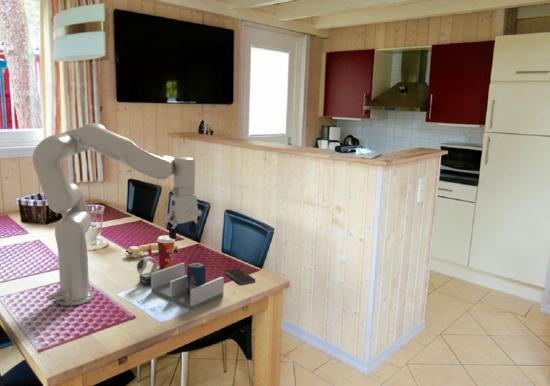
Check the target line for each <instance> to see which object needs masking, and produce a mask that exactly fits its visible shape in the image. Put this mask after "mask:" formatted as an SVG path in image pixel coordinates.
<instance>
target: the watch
mask: <svg viewBox="0 0 550 386" xmlns="http://www.w3.org/2000/svg"><path fill="white" fill-rule="evenodd" d="M151 259H152V260H153V265H152V267H151V269H150V272H147V273H144V274H143V271H145V269H146V268H147V265H148V262H149V260H151ZM138 260H139V261H138V262H137V264H136V270H137V272H138V275H139V283H140V284H141V285H143V286H144V287H145V288H147V287H150V286H151V273H154V272H157V268H158V261H157V260H156V259H155V258H154V257H152V256H149V255H148V256H144V257H143V258H140V259H138Z"/></svg>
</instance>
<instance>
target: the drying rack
mask: <svg viewBox="0 0 550 386" xmlns="http://www.w3.org/2000/svg"><path fill="white" fill-rule="evenodd" d="M185 264H186V263H185V262H180V263H178V264H175V265H174V264H173V266H171V267H169V268H166V269H163V270H162V269H159V270H158V271H157V270H156V271H155V272H154V273H151V287H150V288H151V289H150V290H151V293H153V294H156V295H158V296H160V297H162V298H164V299H166V300H168V301H171V302H173V303H176V304H177V305H180V306H182V307H184V308H187V309H189V310H192V311H193V310H195V309H198V308H199V307H202V306H204V305H206V304H208V303H211V302H213V301H215V300H217V299H219V298H221V297H223V296H224V286H225V285H224V284H225V283H224V276H220V277H218V278H215V279H212V280H210V281H207V282H206V283H205V284H203V285H200V286H198V287H195V288H193V289H191V290H190V296H189V295H188V293H187V274H185V273H186V271H185V270H186V269H185V266H186V265H185Z"/></svg>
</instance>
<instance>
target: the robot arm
mask: <svg viewBox="0 0 550 386" xmlns="http://www.w3.org/2000/svg"><path fill="white" fill-rule="evenodd" d="M88 150H91V151H93V152H94V153H95V152H96V153H98V154H100V155H103V156H105V157H107V158H109V159H113V160H116V161H117V162H120V163H122V164H124V165H125V166H127V167H129V168H131V169H133V170H135V171H137V172H139V173H141V174H143V175H146V176H148V177H151V178H153V179H156V180H166V179H168V178H170V176H173V188H172V189H171V200H170V203H169V204H170V205H169V213H167V214H166V215H165V216H163V222H164V224H165V225H166V226H167V228H168V235H169V238H171V239H177V228H176V227H177V225H178V224H179V225H181V224H184V223H185V224H186V223H189V231H188V232H189V233H190V234H193V235H197V224H198V223H199V220H200V219H201V215H202V212H203V211H202V210H200V209H199V208H198V207H199V206H198V198H197V194H196V193H195V182H196V181H195V179H196V177H195V176H196V174H195V173H196V161H195V159H194V158H192V157H187V156H179V157H178V156H171V155H164V154H162V155H156V154H153V153H150V152H149V151H147V150H144V149H142V148H141V147H140V146H138V145H137V144H135V142H134V141H132V140H131V139H130V138H127V137H125V136H122V135H120V134H118V133H116V132H113V131H110V130H108V129H107V128H106V127H105V126H104V125H103V124H101V123H97V122H92V123H91V122H90V123H87V124H85V125H83V126H80V127H78V128H74V129H71V130H68V131H64V132H60V133H58V134H57V133H56V134H52V135H49V136H47V137H45V138H44V139H42V140H41V141H40V142H39V143H38V144H37V146H36V147H35V148H34V151H33V153H32V164H33V165H32V166H33V167H34V171H35V173H36V176H37V178H38V181H39V185H40V187H41V189H42V192H43V195H44V197H45V199H46V202H47V206H48V208H49V209H50V210H51V211H53V212H54V213H56V214H61V216H62V217H61V219H60V220H59V221H58V222H57V223H56V225H55V229H54V236H55V241H56V246H57V247H56V248H57V255H58V256H57V257H58V270H59V271H58V273H59V288H57V291H55V293H51V294H48V295H46V299H47V301H48V302H50V301H54V302H56V303H57V304H58V305H62V306H67V307H68V306H69V307H70V306H71V307H72V306H79V305H83V304H87V303H88V302H90V301H92V300H93V299H94V298H95V297H94V296H95V293H94V292H95V291H93V290H91V289H90V282H89V281H90V279H89V259H88V247H87V241H86V234H87V232H88V231H89V229H90V227H91V226H92V217H91V214H90V211H89V208H88V204H87V203H86V199H85V196H84V194H83V192H82V190H81V189H80V187H79V186H78V185H77V184H75V183H73V182H70V181H69V180H68V177H67V174H66V172H65V169H64V167H63V166H62V160H63V159H66V158H68V157H71V156H74V155H76V154H79V153H82V152H86V151H88Z"/></svg>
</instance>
